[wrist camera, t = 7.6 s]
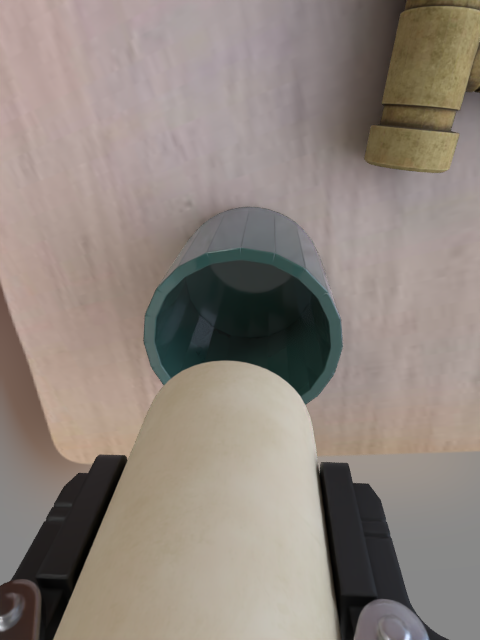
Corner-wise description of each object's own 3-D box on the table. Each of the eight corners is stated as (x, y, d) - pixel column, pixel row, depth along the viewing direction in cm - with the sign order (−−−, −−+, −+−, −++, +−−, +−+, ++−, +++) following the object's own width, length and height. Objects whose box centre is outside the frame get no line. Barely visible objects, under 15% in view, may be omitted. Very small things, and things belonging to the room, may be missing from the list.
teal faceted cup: (165, 218, 28) (119, 264, 19) (315, 195, 27) (335, 234, 18) (205, 384, 34) (183, 475, 25) (329, 372, 32) (350, 463, 24)
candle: (310, 487, 15) (368, 1038, 6) (161, 484, 15) (10, 993, 6) (314, 356, 13) (421, 955, 4) (137, 358, 13) (-156, 892, 4)
